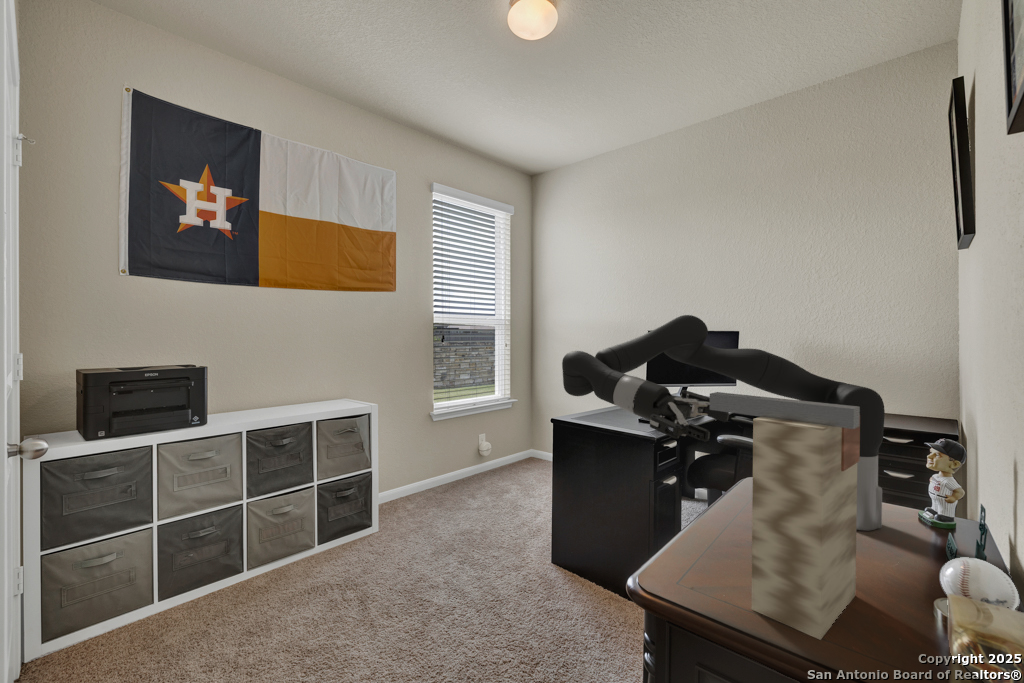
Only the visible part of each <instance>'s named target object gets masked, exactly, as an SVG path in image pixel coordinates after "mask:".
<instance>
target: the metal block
mask: <svg viewBox="0 0 1024 683" xmlns="http://www.w3.org/2000/svg"><path fill="white" fill-rule="evenodd" d="M709 398H710V410H715V411H723V412H729V414H730V413H731V414H732V413H733V414H737V415H738V414H739V415H744V416H752V417H754V416H755V417H767V418H775V419H782V420H790V421H797V422H805V423H812V424H820V425H827V426H834V427H842V428H849V429H855V428H857V427H859V417H860V407H858V406H848V405H839V404H829V403H819V402H809V401H800V400H797V399H791V398H788V399H786V398H779V397H770V396H758V395H751V394H750V395H749V394H742V393H741V394H738V393H730V392H718V391H717V392H716V391H715V392H711V393H709Z"/></svg>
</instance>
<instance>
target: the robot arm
mask: <svg viewBox="0 0 1024 683" xmlns="http://www.w3.org/2000/svg"><path fill="white" fill-rule="evenodd" d="M708 330H709V329H708V327H707V324H706V322H704V321H703V320H702V319H701V318H699V317H698V316H695V315H692V314H691V315H690V314H687V315H686V314H683V315H680V316H677V317H675V318H673V319H671V320H670V321H668V322H666V323H665V324H663V325H661V326H659V327H656V328H655V329H652V330H650V331H648V332H646V333H644V334H642V335H640V336H637V337H635V338H633V339H630V340H627V341H624V342H621V343H619V344H616V345H612V346H610V347H606V348H603V349H601V350H599V351H598V352H596V354H595V356H594V355H593V354H590V353H588V352H585V351H582V350H573V351H570V352H567V353H566V354H565V355H564V356H563V358H562V360H561V361H562V362H561V366H562V370H561V371H562V384H563V388H564V391H565V392H566V393H567V394H568V395H570V396H573V397H583V396H587V395H589V394H591V393H593V392H594V395H595V396H596V397H597V399H600V400H602V401H605V402H606V403H609V404H611V405H614V406H617V407H618V408H620V409H622V410H624V411H626V412H628V413H631V414H633V415H635V416H638V417H640V418H643V419H645V420H647V421H649V427H650V428H651V429H654V430H656V431H658V432H659V433H661V434H664V435H666V436H669V437H670V438H673V439H675V440H677V439H679V438H680V436H682V437H686V436H689V437H691V438H694V439H696V440H698V441H701V442H704V443H706V442H708V441H709V440H710V435H711V432H710V430H709V429H708V428H707V429H706V428H704V427H701V426H699V425H696V424H693V423H688V421H687V420H686V419H689V418H690V417H691V418H696V417H697V416H707V417H709V418H712V419H714V420H717V421H719V422H721V423H722V422H723V423H726V422H728V420H729V417H730V412H723V411H715V410H710V396H709V397H708V396H705V395H702V394H699V393H696V392H692V391H690V390H686V389H682V390H681V392H680V393H681V394H680V395H672V394H671V392H670V389H668V388H667V387H666V386H665V385H661V384H659V383H655V382H653V381H649V380H647V379H644V378H642V377H641V378H640V377H638V376H634V375H633V376H632V375H628V374H626V373H629V372H632V371H633V370H635V369H638V368H639V367H641V366H643V365H645V364H646V363H648V362H649V361H651V360H653V359H654V358H655V357H657V356H658V355H660V354H662V353H664V354H665V355H666V356H667V357H668V358H670V359H672V360H675V361H677V362H680V363H683V364H687V365H690V366H693V367H697V368H700V369H704V370H708V371H711V372H715V373H716V374H720V375H723V376H726V377H728V378H731V379H733V380H736V381H739V382H741V383H745V385H749V386H750V387H751V386H752V387H754V388H757V389H759V390H762V391H765V392H768V393H770V394H773V395H777V396H780V397H784V398H788V399H792V400H800V401H809V402H819V403H829V404H839V405H848V406H858V407H860V459H859V462H857V519H856V531H857V530H858V531H874V530H876V529H882V528H883V527H882V523H883V522H882V521H883V520H882V519H883V518H882V516H883V488H882V487H881V486H879V450H880V447H881V445H882V443H883V440H884V430H885V427H884V426H885V413H886V412H885V405H884V404H885V403H884V400H883V398H882V396H881V395H880V394H879V393H878V392H877V391H876V390H875V389H872V388H869V387H866V386H862V385H856V384H850V383H845V382H841V381H837V380H833V379H829V378H825V377H823V376H819V375H816V374H814V373H813V372H810V371H808V370H806V369H804V368H803V367H801V366H800V365H797V364H796V363H795V362H792V361H791V360H788V359H786V358H784V357H782V356H779V355H776V354H774V353H771V352H769V351H766V350H762V349H757V348H718V347H714V346H710V345H708V344H705V343H706V340H707V337H708V335H709V331H708ZM670 428H672V430H671V429H670Z"/></svg>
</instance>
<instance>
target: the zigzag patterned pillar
mask: <svg viewBox="0 0 1024 683" xmlns="http://www.w3.org/2000/svg"><path fill="white" fill-rule="evenodd" d="M752 420H753V421H752V425H753V427H752V428H753V429H752V431H753V432H752V510H751V512H752V515H751V516H752V518H751V519H752V520H751V522H752V526H751V530H752V531H751V547H752V548H751V611H754V612H756V613H758V614H762V615H763V616H766V617H768V618H770V619H771V620H774V621H777V622H780V623H781V624H784V625H786V626H788V627H791V628H792V629H795V630H797V631H799V632H802V633H803V634H805V635H808V636H810V637H813V638H815V639H816V640H817V639H818V640H820V641H822V639H823V637H824V636H825V635H826V634H827V633H828V631H829V630H830V629H831V628H832V626H833V625H834V624H835V622H836V621H837V620H836V619H839V617H840V616H841V615H842V613H843V612H844V611H845V610H846V608H847V607H848V606H849V604H850V603H851V602H852V600H853V599H854V598H855V596H856V584H857V582H856V580H857V578H856V576H857V575H856V573H857V570H856V568H857V565H856V564H857V562H856V561H857V530H856V519H857V462H859V459H860V417H859V427H857V428H855V429H849V428H842V427H834V426H827V425H820V424H812V423H805V422H797V421H790V420H782V419H775V418H767V417H760V416H757V417H756V418H753V419H752ZM847 605H848V606H847ZM846 606H847V607H846ZM844 609H845V610H844ZM843 610H844V611H843ZM842 611H843V612H842ZM840 614H841V615H840ZM839 615H840V616H839ZM838 616H839V617H838ZM835 620H836V621H835ZM833 623H834V624H833ZM832 624H833V625H832Z"/></svg>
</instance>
